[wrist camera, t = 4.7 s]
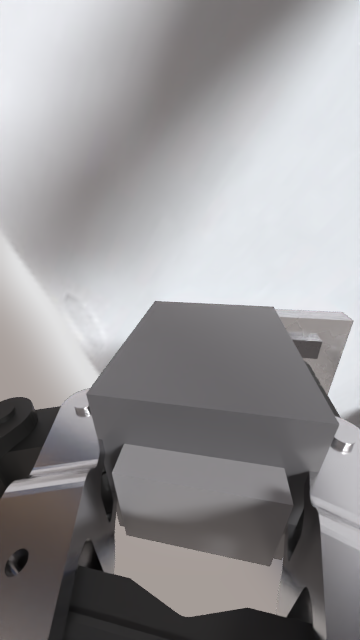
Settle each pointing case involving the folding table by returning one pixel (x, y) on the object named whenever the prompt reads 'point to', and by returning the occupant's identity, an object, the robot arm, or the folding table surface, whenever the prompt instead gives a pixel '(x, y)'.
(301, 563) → the robot arm
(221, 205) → the folding table surface
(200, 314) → the plug
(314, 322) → the socket plate
